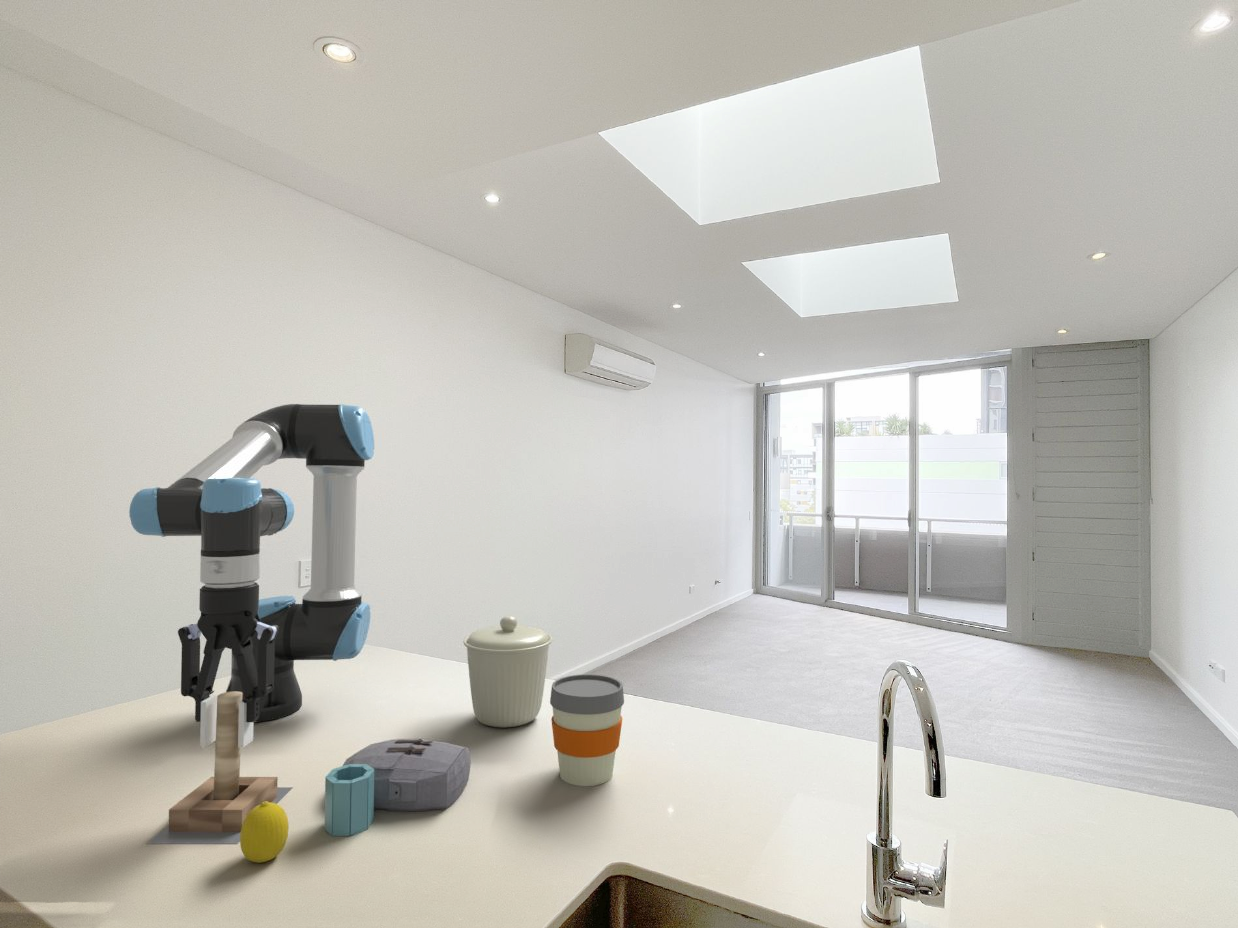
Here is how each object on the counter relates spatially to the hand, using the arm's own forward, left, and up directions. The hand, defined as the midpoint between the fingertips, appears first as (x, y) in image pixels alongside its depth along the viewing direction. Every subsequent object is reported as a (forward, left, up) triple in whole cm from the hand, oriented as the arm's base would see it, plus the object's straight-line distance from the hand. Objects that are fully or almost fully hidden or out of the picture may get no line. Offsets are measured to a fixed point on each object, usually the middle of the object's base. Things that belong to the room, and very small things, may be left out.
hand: (227, 743), depth 98 cm
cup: (+3, +19, -11) cm, 22 cm away
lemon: (+11, +11, -11) cm, 19 cm away
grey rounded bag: (-7, +23, -11) cm, 27 cm away
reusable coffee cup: (-15, +52, -11) cm, 55 cm away
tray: (0, 0, -11) cm, 11 cm away
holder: (0, 0, -10) cm, 10 cm away
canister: (-40, +35, -11) cm, 54 cm away
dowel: (0, 0, -10) cm, 10 cm away
